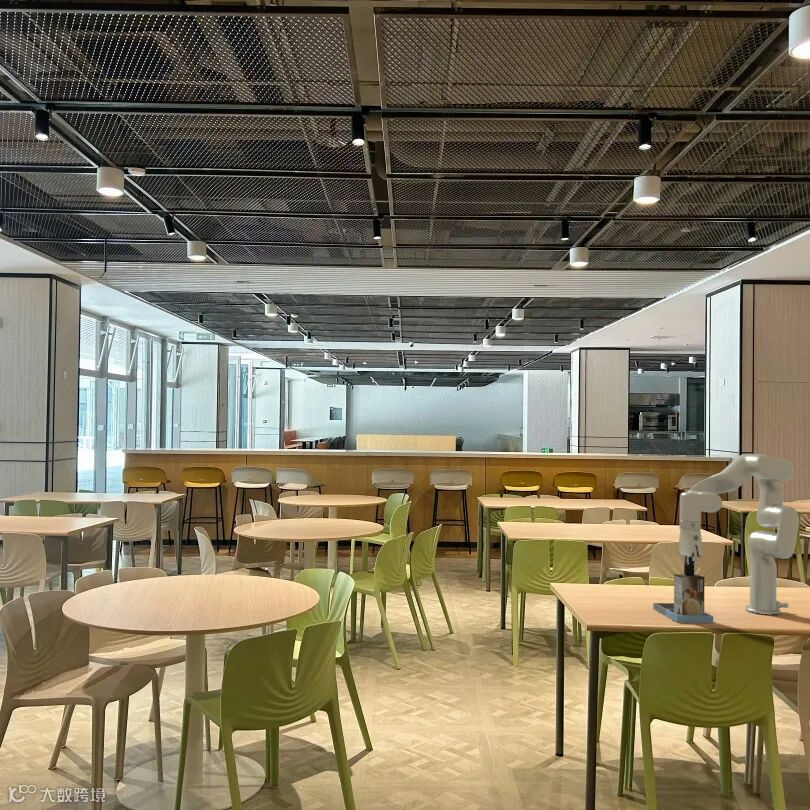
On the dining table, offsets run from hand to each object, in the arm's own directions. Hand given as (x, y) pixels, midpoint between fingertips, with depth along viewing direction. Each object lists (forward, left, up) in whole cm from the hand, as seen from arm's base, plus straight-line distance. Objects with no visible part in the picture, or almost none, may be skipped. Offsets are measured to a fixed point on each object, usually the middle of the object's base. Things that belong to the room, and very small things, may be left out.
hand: (689, 575), depth 295 cm
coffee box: (0, 0, -16) cm, 16 cm away
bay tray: (0, -5, -16) cm, 17 cm away
